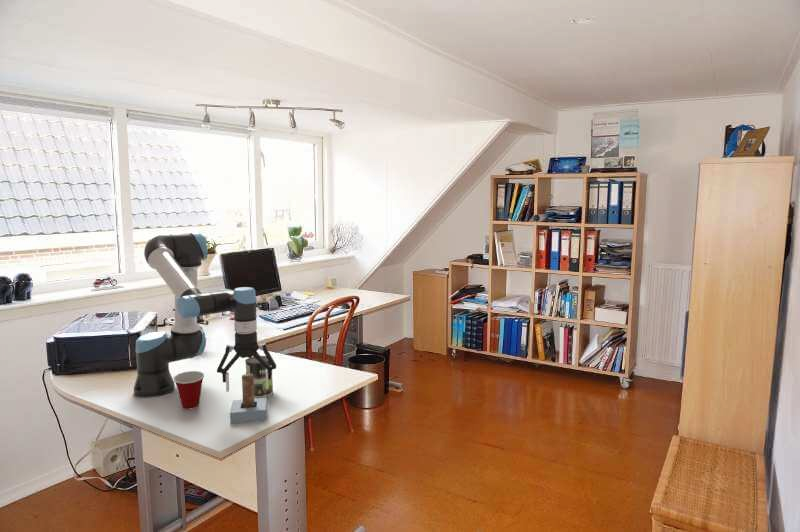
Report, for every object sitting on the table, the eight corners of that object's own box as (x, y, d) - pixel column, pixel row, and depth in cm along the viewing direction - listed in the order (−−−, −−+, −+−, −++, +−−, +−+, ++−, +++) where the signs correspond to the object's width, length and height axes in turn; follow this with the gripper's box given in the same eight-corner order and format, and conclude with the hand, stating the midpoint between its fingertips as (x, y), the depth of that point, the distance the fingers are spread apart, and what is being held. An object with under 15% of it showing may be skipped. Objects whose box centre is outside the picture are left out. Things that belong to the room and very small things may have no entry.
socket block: (230, 424, 184) (229, 412, 183) (233, 410, 195) (232, 400, 195) (266, 420, 186) (265, 409, 186) (266, 407, 198) (266, 397, 198)
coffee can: (278, 391, 215) (277, 358, 213) (259, 400, 206) (258, 364, 204) (260, 387, 220) (259, 354, 218) (241, 395, 211) (239, 360, 210)
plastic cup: (173, 413, 193) (171, 381, 191) (176, 403, 203) (174, 372, 202) (205, 410, 196) (203, 378, 195) (206, 399, 206) (204, 369, 205)
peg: (243, 418, 189) (241, 377, 187) (243, 414, 192) (242, 374, 191) (254, 417, 189) (253, 376, 188) (255, 413, 193) (253, 373, 191)
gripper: (207, 336, 181) (209, 395, 184) (282, 332, 186) (283, 390, 189) (209, 330, 188) (212, 388, 191) (282, 327, 194) (283, 383, 196)
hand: (247, 389), depth 190 cm, fingers open, 13 cm apart
